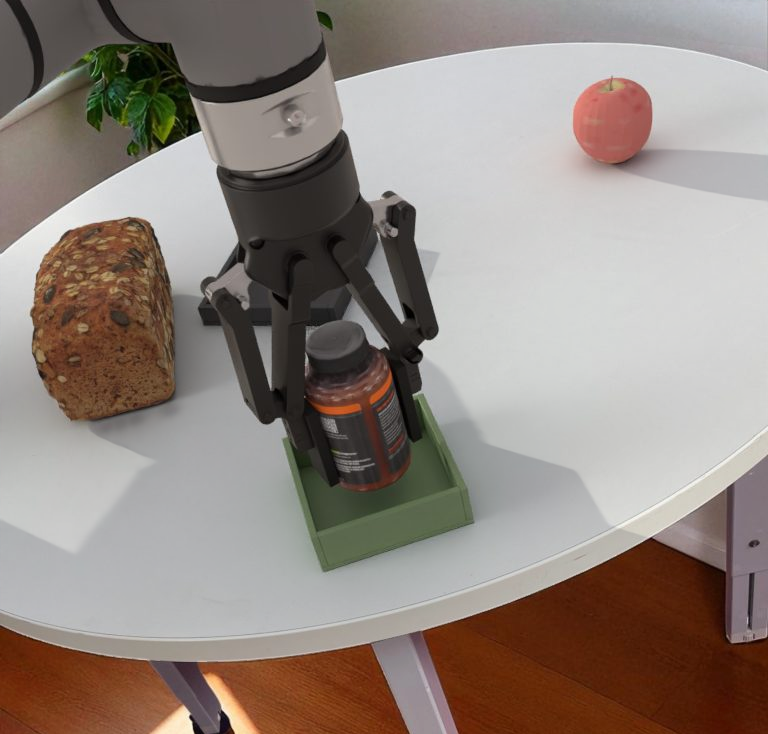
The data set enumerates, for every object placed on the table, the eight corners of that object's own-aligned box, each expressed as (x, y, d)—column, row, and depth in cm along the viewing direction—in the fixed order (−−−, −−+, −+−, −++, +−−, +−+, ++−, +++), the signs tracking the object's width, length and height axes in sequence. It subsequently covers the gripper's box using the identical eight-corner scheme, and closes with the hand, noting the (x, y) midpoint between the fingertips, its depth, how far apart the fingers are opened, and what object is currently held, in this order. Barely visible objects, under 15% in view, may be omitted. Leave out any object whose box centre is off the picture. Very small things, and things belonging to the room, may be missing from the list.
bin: (322, 572, 74) (310, 539, 71) (293, 471, 81) (281, 438, 79) (474, 522, 74) (467, 488, 72) (430, 426, 82) (422, 392, 79)
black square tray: (203, 325, 98) (197, 308, 96) (252, 243, 106) (247, 226, 105) (338, 325, 93) (333, 308, 92) (378, 240, 102) (374, 222, 100)
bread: (183, 402, 90) (141, 305, 83) (62, 433, 90) (9, 339, 83) (180, 283, 103) (143, 191, 96) (74, 311, 104) (29, 221, 97)
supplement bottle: (412, 431, 77) (382, 302, 69) (414, 489, 73) (382, 359, 65) (332, 444, 78) (292, 317, 70) (329, 501, 74) (286, 374, 66)
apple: (581, 140, 107) (576, 61, 101) (657, 136, 105) (655, 55, 99) (570, 179, 102) (563, 99, 97) (649, 176, 100) (647, 93, 94)
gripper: (145, 244, 54) (270, 548, 70) (461, 98, 58) (510, 417, 74) (100, 191, 59) (226, 487, 75) (393, 60, 63) (453, 367, 79)
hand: (367, 452), depth 75 cm, fingers closed on supplement bottle, 6 cm apart
